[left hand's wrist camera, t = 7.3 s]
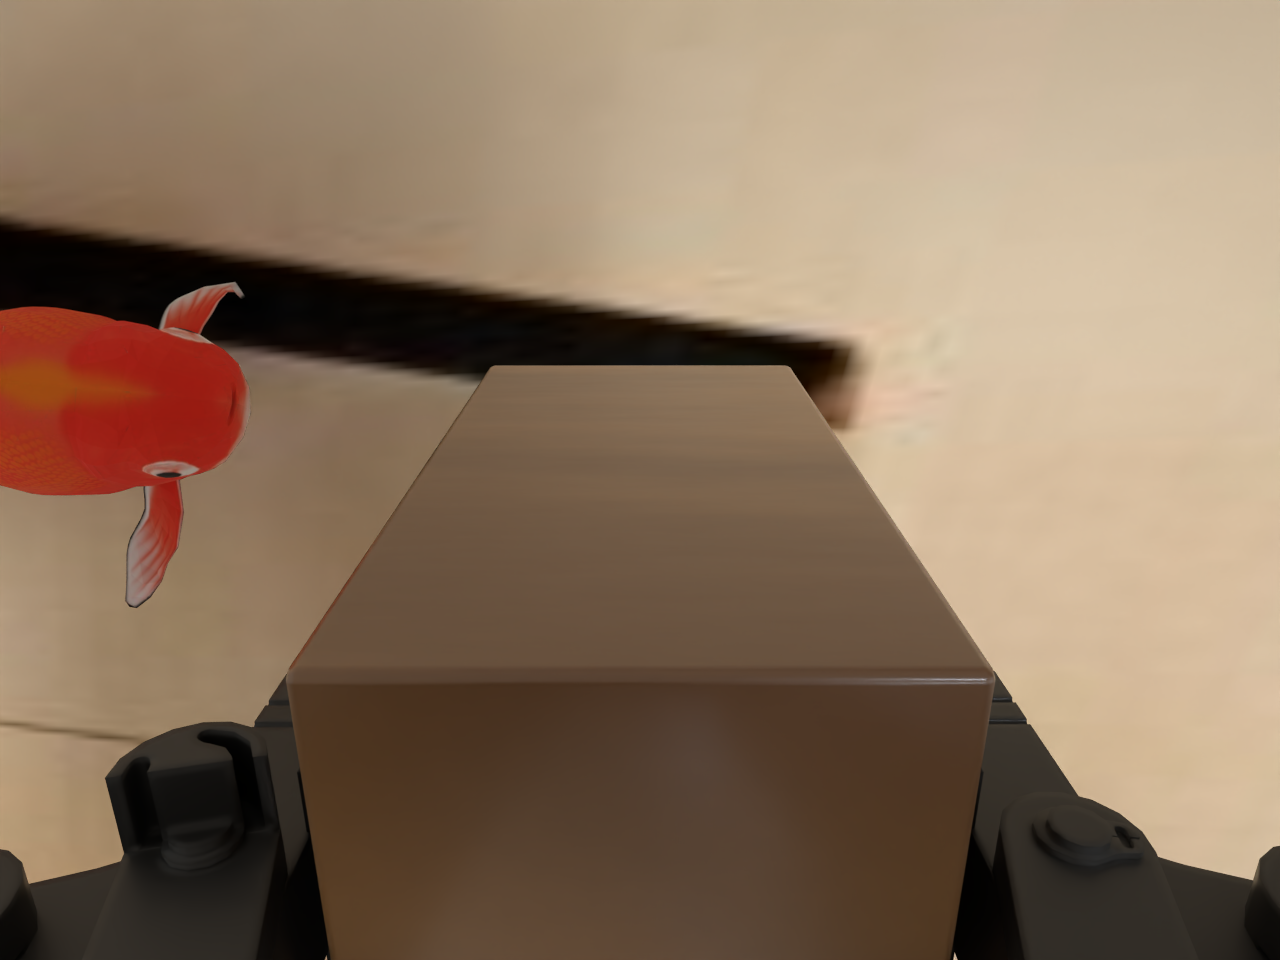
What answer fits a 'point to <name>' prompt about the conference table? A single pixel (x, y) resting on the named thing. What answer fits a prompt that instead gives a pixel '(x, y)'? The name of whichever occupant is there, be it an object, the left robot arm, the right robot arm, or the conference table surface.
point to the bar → (640, 691)
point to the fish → (119, 413)
